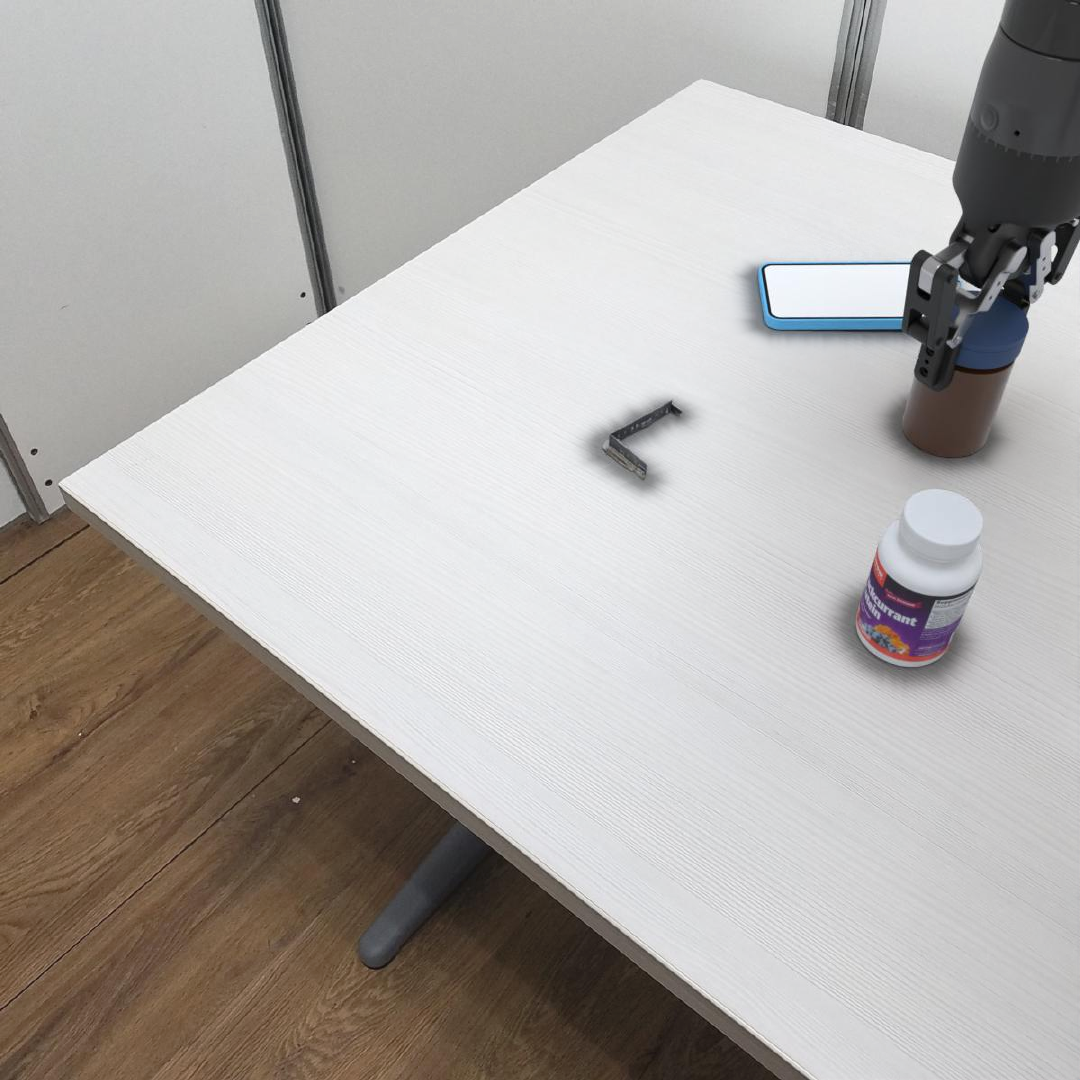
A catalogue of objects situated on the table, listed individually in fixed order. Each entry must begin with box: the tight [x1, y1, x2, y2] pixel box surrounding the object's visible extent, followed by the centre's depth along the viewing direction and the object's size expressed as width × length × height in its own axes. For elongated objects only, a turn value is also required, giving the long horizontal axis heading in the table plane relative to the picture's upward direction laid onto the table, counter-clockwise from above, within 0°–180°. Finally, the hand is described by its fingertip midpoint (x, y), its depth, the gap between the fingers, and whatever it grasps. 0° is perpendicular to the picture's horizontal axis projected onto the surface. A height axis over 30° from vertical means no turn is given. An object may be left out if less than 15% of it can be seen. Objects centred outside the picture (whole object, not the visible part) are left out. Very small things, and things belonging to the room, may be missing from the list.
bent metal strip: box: [602, 398, 683, 480], centre depth 77 cm, size 7×1×5 cm
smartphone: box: [757, 260, 963, 331], centre depth 87 cm, size 8×1×15 cm
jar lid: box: [950, 289, 1030, 369], centre depth 71 cm, size 6×6×2 cm
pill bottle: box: [855, 488, 984, 668], centre depth 62 cm, size 5×5×10 cm
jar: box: [901, 358, 1017, 458], centre depth 75 cm, size 6×6×8 cm
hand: (964, 363), depth 74 cm, fingers closed on jar lid, 5 cm apart
